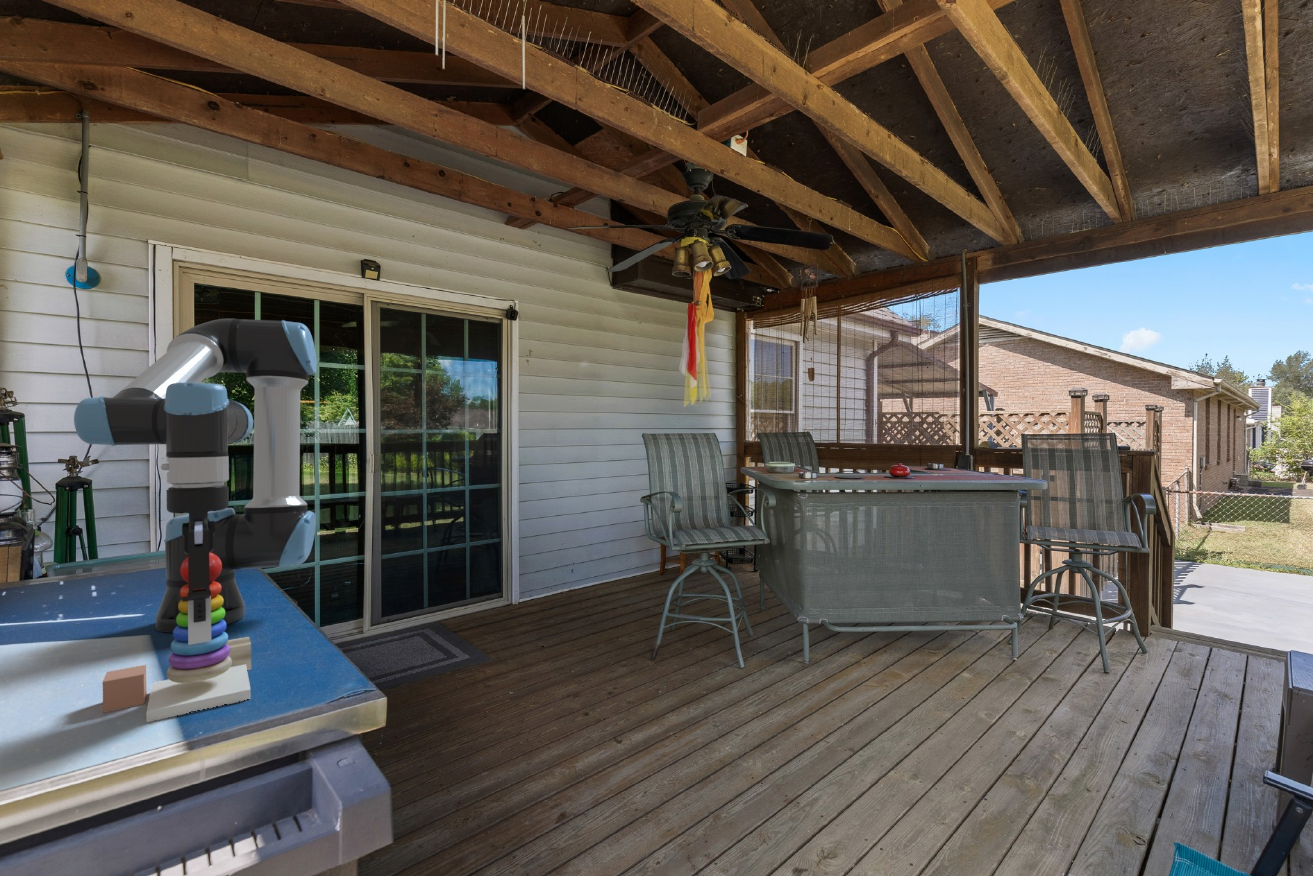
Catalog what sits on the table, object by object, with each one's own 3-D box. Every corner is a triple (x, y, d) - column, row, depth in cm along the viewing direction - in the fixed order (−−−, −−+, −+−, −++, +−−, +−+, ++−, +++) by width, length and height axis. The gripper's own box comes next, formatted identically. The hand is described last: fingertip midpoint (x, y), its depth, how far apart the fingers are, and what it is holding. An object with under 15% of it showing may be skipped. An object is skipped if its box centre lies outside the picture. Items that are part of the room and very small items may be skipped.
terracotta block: (107, 701, 90) (106, 671, 90) (146, 693, 93) (146, 664, 93) (103, 713, 87) (102, 682, 87) (144, 704, 89) (143, 674, 89)
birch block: (217, 668, 103) (217, 642, 103) (249, 662, 106) (249, 636, 105) (218, 677, 99) (218, 649, 99) (251, 670, 102) (251, 643, 102)
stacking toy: (160, 689, 87) (158, 559, 86) (174, 669, 94) (172, 549, 93) (227, 679, 90) (225, 554, 90) (235, 660, 97) (234, 545, 97)
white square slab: (152, 692, 93) (152, 682, 93) (246, 673, 100) (246, 664, 100) (146, 722, 84) (146, 711, 84) (250, 699, 91) (250, 689, 91)
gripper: (169, 481, 97) (171, 623, 97) (162, 491, 81) (165, 661, 82) (226, 479, 102) (228, 614, 102) (230, 488, 86) (232, 648, 86)
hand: (200, 635), depth 92 cm, fingers closed on stacking toy, 7 cm apart
